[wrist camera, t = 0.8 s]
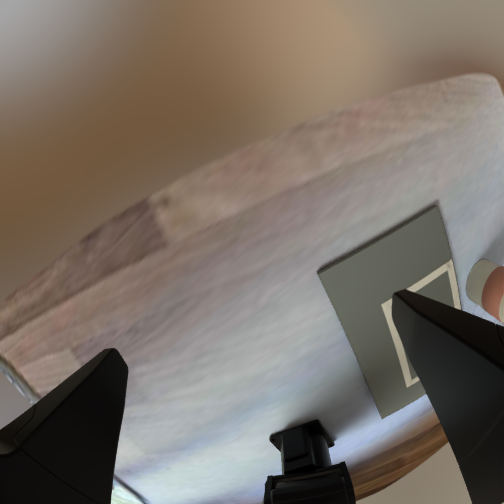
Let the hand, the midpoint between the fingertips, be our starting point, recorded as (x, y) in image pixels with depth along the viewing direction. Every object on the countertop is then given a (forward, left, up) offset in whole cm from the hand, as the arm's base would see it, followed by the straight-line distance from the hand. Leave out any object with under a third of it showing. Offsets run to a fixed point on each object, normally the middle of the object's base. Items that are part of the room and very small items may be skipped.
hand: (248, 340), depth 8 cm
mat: (-16, -10, -15) cm, 24 cm away
